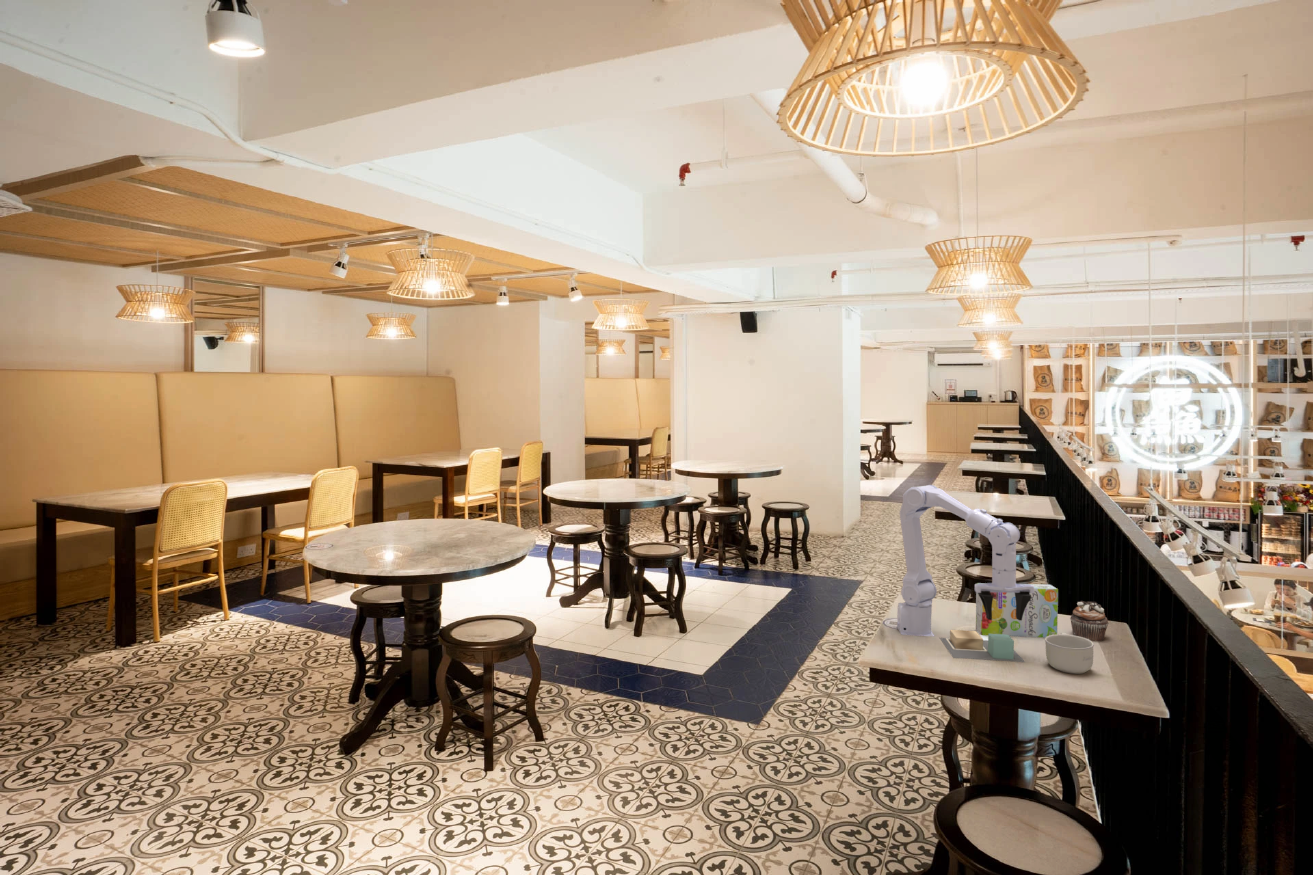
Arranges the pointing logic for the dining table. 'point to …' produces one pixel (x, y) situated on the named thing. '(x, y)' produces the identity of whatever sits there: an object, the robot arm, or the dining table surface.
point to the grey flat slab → (975, 652)
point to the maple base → (966, 639)
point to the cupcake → (1089, 621)
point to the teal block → (1000, 646)
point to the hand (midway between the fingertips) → (1003, 619)
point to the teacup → (1069, 653)
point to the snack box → (1035, 617)
